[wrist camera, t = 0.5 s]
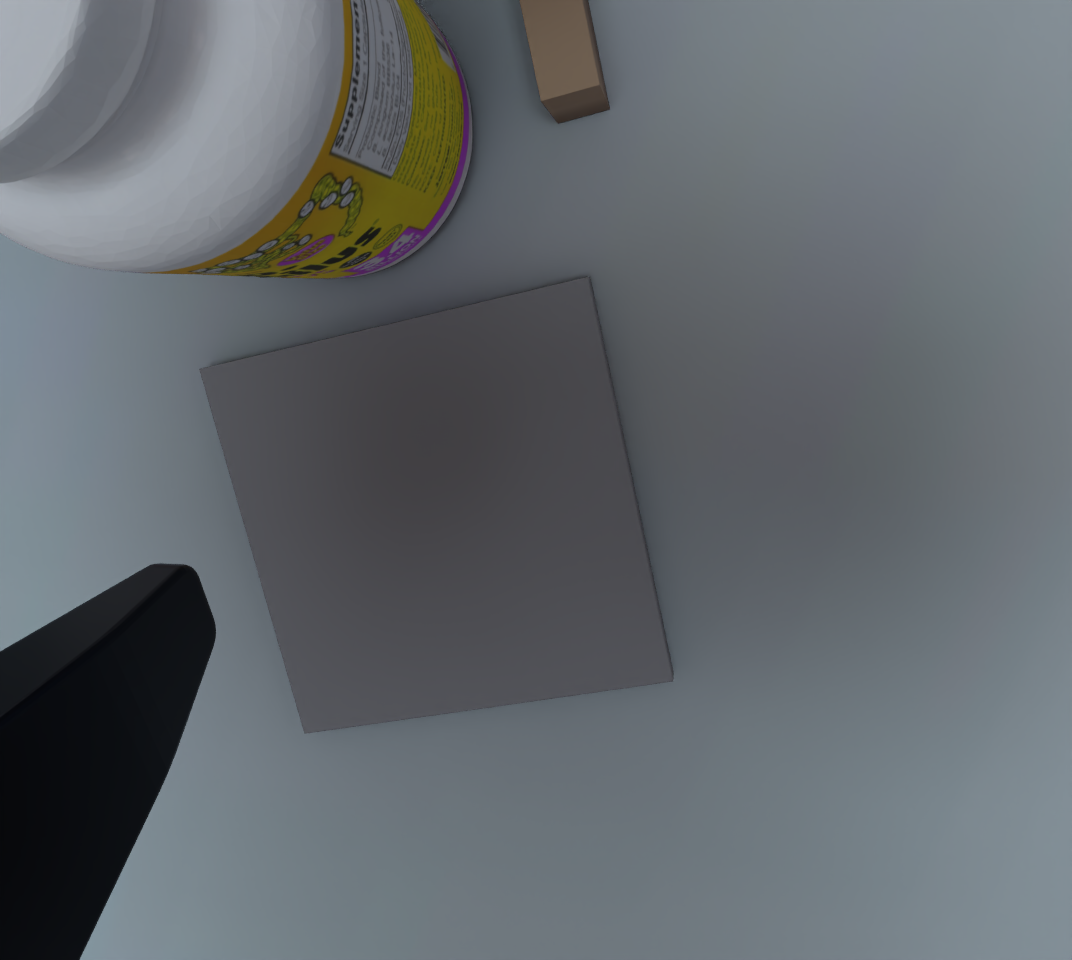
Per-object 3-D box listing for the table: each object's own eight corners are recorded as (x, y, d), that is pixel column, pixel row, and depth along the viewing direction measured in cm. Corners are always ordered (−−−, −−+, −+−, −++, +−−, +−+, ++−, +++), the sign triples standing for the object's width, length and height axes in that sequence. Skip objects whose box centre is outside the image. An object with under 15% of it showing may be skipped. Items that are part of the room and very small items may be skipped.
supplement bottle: (211, 267, 22) (-378, 238, 10) (214, -24, 21) (-473, -482, 8) (472, 292, 21) (179, 294, 9) (493, -10, 20) (181, -501, 8)
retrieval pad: (673, 673, 23) (673, 681, 22) (312, 725, 25) (304, 733, 24) (589, 277, 21) (587, 277, 20) (209, 367, 23) (199, 369, 22)
